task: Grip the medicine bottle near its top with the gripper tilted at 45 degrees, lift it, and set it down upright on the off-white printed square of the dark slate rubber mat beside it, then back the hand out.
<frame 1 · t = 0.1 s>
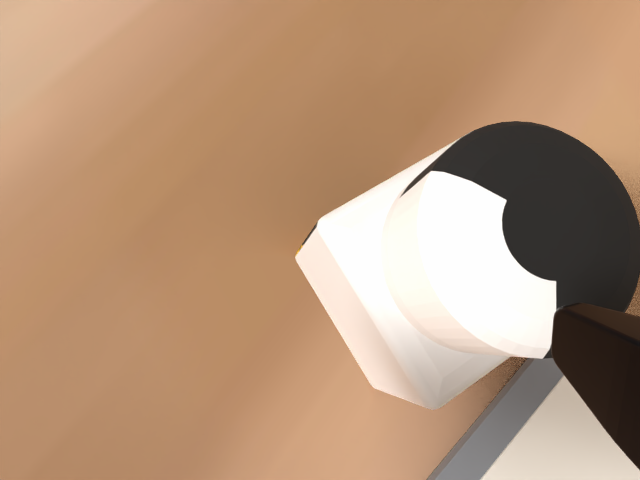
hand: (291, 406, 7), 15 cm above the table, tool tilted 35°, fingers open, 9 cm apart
medicine bottle: (393, 282, 23), on the table
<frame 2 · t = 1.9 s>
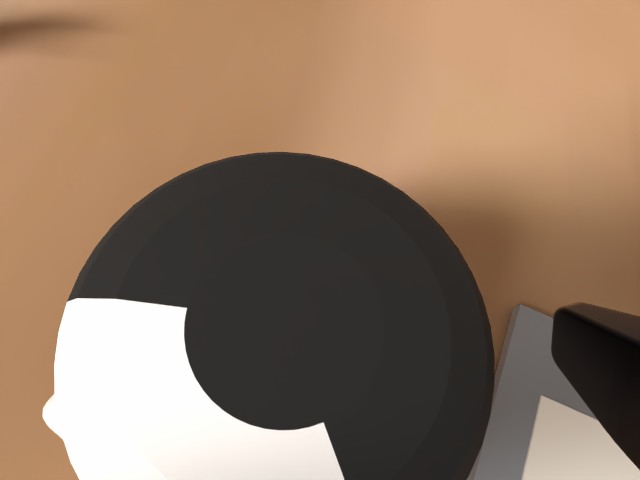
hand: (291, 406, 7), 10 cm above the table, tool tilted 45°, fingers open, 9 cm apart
medicine bottle: (274, 404, 17), on the table
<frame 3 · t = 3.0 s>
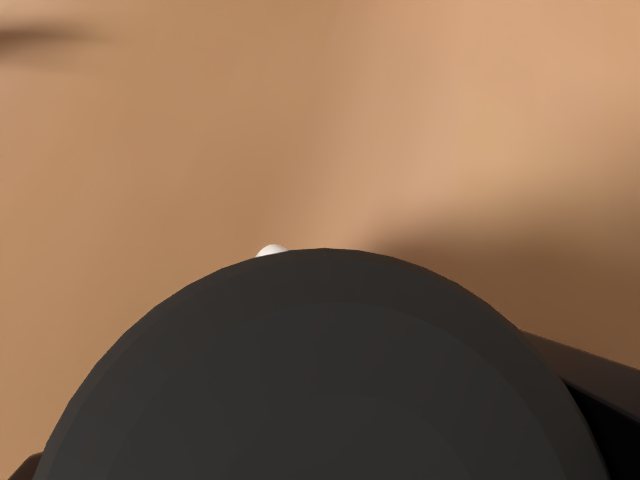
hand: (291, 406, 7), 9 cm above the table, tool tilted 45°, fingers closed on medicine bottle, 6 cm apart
medicine bottle: (288, 473, 15), on the table, touching gripper
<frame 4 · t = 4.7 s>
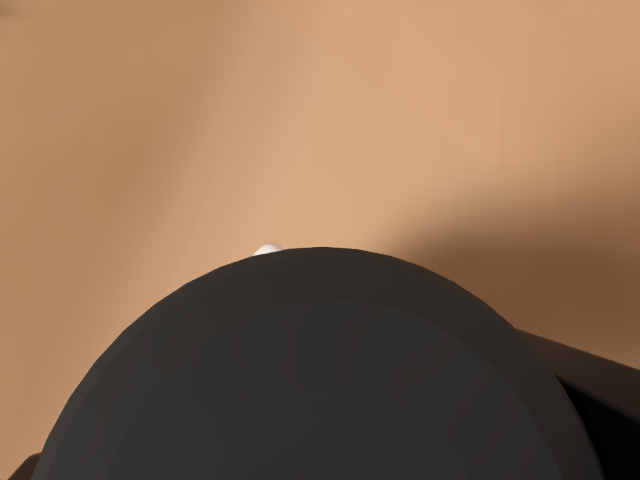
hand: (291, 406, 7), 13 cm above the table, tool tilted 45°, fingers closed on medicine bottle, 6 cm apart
medicine bottle: (284, 472, 15), point 3 cm above the table, touching gripper
when the fingers open (11 cm above the table, at t = 6.2 s): medicine bottle stays where it is, resting on label mat.
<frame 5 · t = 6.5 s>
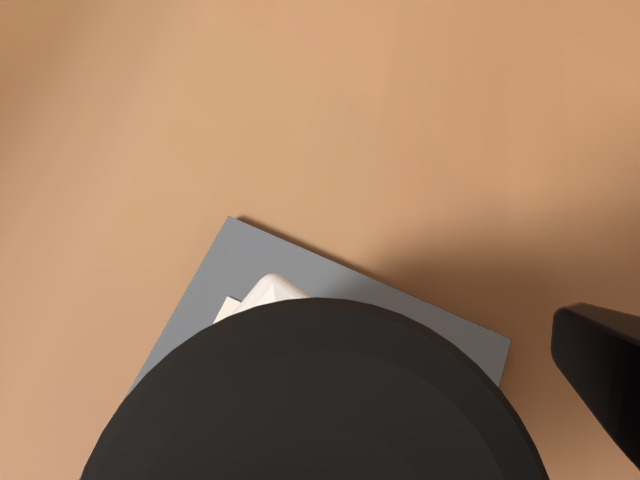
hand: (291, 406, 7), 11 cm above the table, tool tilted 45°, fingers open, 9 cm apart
medicine bottle: (286, 479, 16), point 1 cm above the table, touching label mat
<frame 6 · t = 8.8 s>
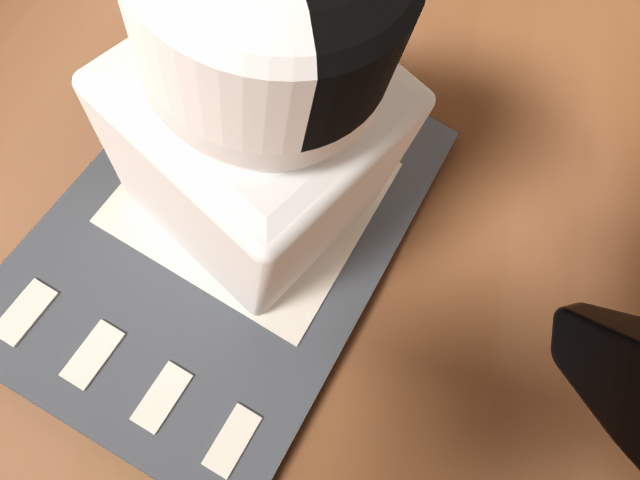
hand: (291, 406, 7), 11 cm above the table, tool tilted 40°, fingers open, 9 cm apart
medicine bottle: (256, 197, 20), point 1 cm above the table, touching label mat
label mat: (236, 226, 20), on the table
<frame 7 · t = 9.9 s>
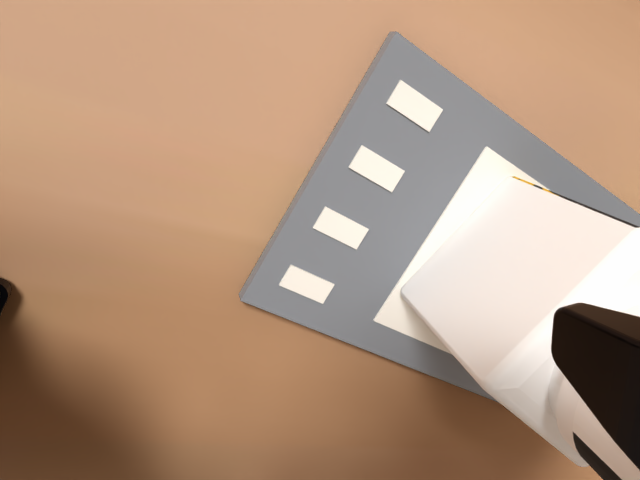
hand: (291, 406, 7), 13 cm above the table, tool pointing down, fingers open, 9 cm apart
medicine bottle: (491, 273, 23), point 1 cm above the table, touching label mat
label mat: (468, 257, 23), on the table
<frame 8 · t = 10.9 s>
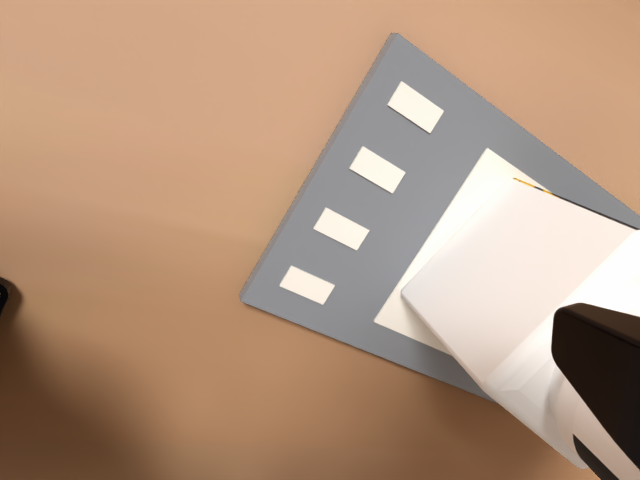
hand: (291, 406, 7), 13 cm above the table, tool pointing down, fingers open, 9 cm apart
medicine bottle: (491, 275, 23), point 1 cm above the table, touching label mat
label mat: (468, 258, 23), on the table
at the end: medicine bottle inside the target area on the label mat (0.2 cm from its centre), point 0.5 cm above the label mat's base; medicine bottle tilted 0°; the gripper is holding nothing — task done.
